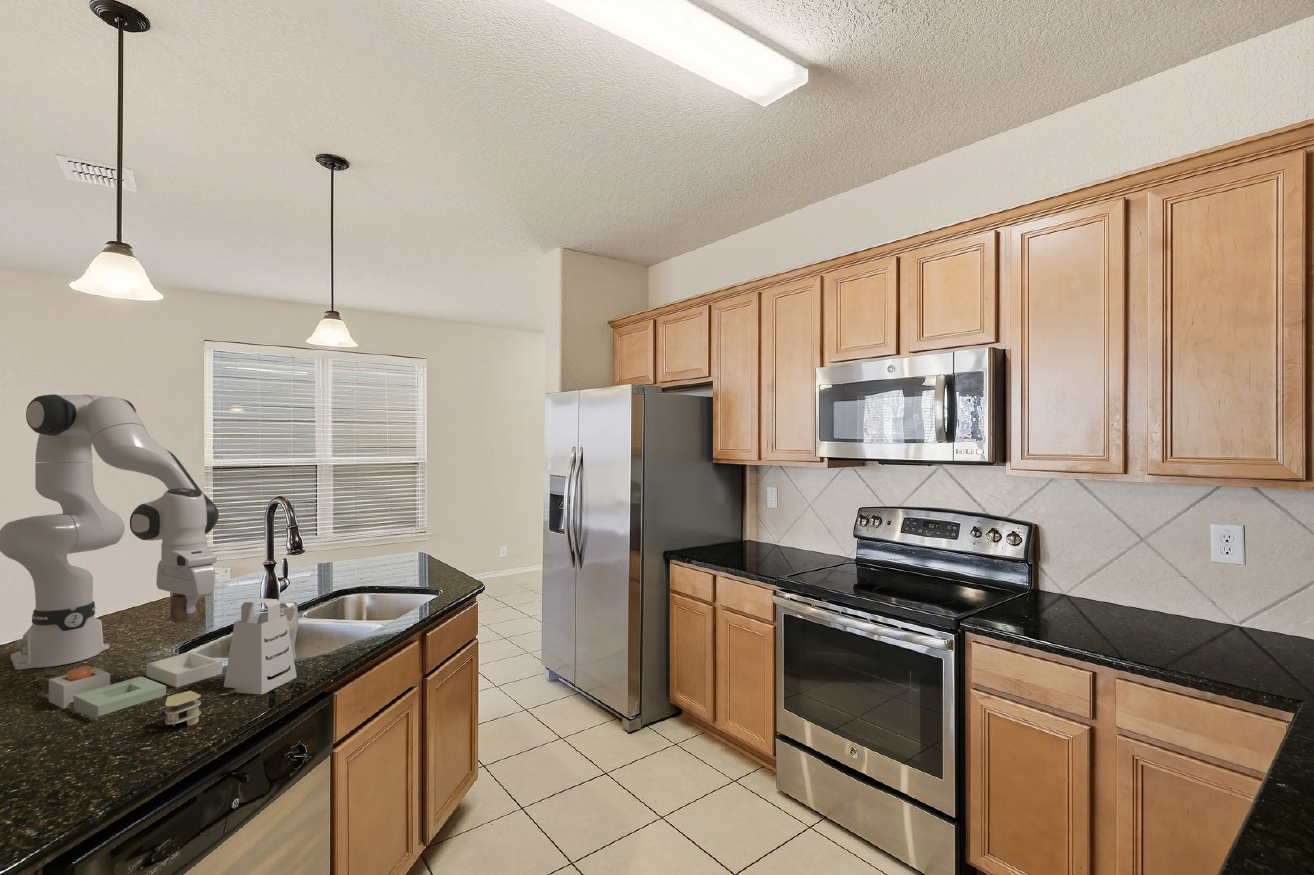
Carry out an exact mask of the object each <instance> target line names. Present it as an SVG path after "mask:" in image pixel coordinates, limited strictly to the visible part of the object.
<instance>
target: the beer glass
mask: <svg viewBox="0 0 1314 875" xmlns="http://www.w3.org/2000/svg"><path fill="white" fill-rule="evenodd" d="M279 603H280V615H286V617H287V622H288V628H289V634H290V640H291V646H292V652H293V658H294V659H296V658H297V655H296V651H295V650H296V649H295V647H296V638H297V634H298V627H299V610H298V602H295V601H284V602H279ZM266 622H268V621H266ZM280 635H282V634H280ZM278 638H280V636H279V637H278ZM270 639H273V638H270ZM274 639H277V637H276V636H275V637H274ZM281 653H282V654H283V653H284V651H283V652H281ZM278 654H279V653H278ZM277 656H278V655H276V656H275V657H277ZM271 657H272V658H274V655H273V656H271ZM270 660H271V659H270Z"/></svg>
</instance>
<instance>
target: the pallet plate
mask: <svg viewBox="0 0 1314 875" xmlns="http://www.w3.org/2000/svg"><path fill="white" fill-rule="evenodd" d="M166 695H167V685H166V684H165V685H164V684H162V683H159V682H158V681H156V680H152V679H148V678H146V677H144V676H141V675H140V676H137V677H133V678H130V679H126V680H123V681H120V682H116V683H111V684H110V685H108V686H105V687H101V688H98V689H94V690H90V691H87V692H83V693H80V694H76V695H74V702H73V705H74V706H73V710H74V711H77V712H78V713H81V714H83V715H85V716H88V717H89V718H91V719H94V720H95V721H97V722H98V721H102V720H103V718H102V717H100V716H104V715H107V714H109V713H113V712H117V711H119V710H122V709H125V708H129V707H132V706H135V705H139V704H142V703H146V702H148V701H152V700H155V699H157V698H158V699H159V698H161V697H164V696H166Z"/></svg>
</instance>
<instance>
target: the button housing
mask: <svg viewBox="0 0 1314 875" xmlns="http://www.w3.org/2000/svg"><path fill="white" fill-rule="evenodd" d="M108 685H111V673H110V672H107V671H105V670H103V669H99V668H98V667H92V676H91V677H87V678H83V679H79V680H76V681H72V682H70V681H68V673H67V674H64V675H61V676H56V677H52V678H48V702H49V703H51V704H53V705H55V706H57V707H59V708H61V709H62V710H64V709H68V708H72V707H74V695H76V694H80V693H83V692H87V691H90V690H94V689H98V688H101V687H105V686H108Z"/></svg>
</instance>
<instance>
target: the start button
mask: <svg viewBox="0 0 1314 875" xmlns="http://www.w3.org/2000/svg"><path fill="white" fill-rule="evenodd" d="M92 668H93V667H92V666H90V665H89V666H79V667H75V668H73V669H70V670H68V671H67V674H68V681H70V682H72V681H76V680H79V679H83V678H87V677H91V676H92Z"/></svg>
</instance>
